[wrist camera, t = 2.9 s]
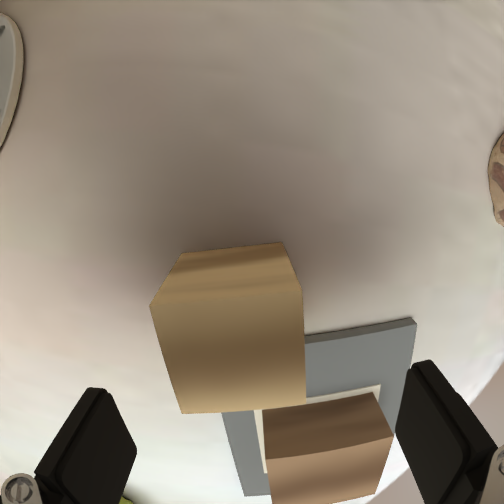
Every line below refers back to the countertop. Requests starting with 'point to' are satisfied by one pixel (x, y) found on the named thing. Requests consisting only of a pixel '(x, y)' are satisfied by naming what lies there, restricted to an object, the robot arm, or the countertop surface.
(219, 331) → the oak cube
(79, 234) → the countertop surface
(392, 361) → the slate mat
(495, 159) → the figurine
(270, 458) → the walnut base
